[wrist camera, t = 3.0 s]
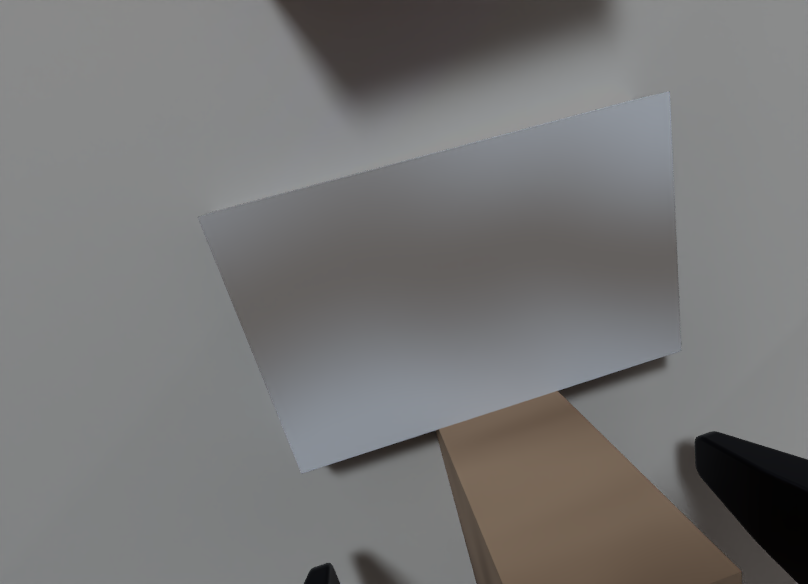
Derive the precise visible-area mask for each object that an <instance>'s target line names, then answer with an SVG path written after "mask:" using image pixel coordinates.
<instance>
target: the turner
mask: <svg viewBox="0 0 808 584" xmlns="http://www.w3.org/2000/svg"><path fill="white" fill-rule="evenodd" d="M198 219H199V222H200V224H201V227H202V229H203V232H204V234H205V237H206V239H207V242H208V244H209V246H210V249H211V251H212V254H213V256H214V259H215V261H216V264H217V266H218V269H219V271H220V274H221V276H222V279H223V281H224V284H225V286H226V288H227V291H228V293H229V296H230V298H231V301H232V303H233V306H234V308H235V311H236V313H237V316H238V318H239V321H240V323H241V326H242V328H243V330H244V333H245V335H246V338H247V340H248V343H249V345H250V348H251V350H252V353H253V355H254V358H255V360H256V363H257V365H258V368H259V370H260V372H261V375H262V377H263V380H264V382H265V385H266V387H267V390H268V392H269V395H270V397H271V400H272V402H273V405H274V407H275V410H276V412H277V414H278V417H279V419H280V422H281V424H282V427H283V429H284V432H285V434H286V437H287V439H288V442H289V444H290V447H291V449H292V452H293V454H294V456H295V459H296V461H297V464H298V466H299V469H300V471H301V474H302V473H305V472H308V471H311V470H314V469H317V468H320V467H324V466H327V465H330V464H333V463H336V462H339V461H342V460H345V459H348V458H351V457H354V456H358V455H361V454H364V453H367V452H370V451H373V450H376V449H379V448H382V447H385V446H388V445H392V444H395V443H398V442H401V441H404V440H407V439H410V438H413V437H416V436H419V435H422V434H426V433H429V432H432V431H435V430H436V434H437V438H438V441H439V445H440V449H441V453H442V456H443V460H444V464H445V467H446V471H447V475H448V479H449V482H450V486H451V490H452V494H453V497H454V501H455V505H456V508H457V512H458V516H459V520H460V523H461V527H462V531H463V534H464V538H465V542H466V546H467V549H468V553H469V557H470V561H471V564H472V568H473V572H474V575H475V579H476V583H477V584H742V571H741V570H740V569H739V568H738V567H737V566H736V565H735V564H734V563H733V562H732V561H731V560H729V559H728V558H727V557H726V556H725V555H724V554H723V553H722V552H721V551H720V550H719V549H718V548H717V547H716V546H715V545H714V544H713V543H712V542H711V541H710V540H709V539H708V538H707V537H706V536H705V535H704V534H703V533H702V532H701V531H700V530H699V529H698V528H697V527H696V526H695V525H694V524H693V523H692V522H691V521H690V520H689V519H688V518H687V517H686V516H685V515H684V514H683V513H682V512H681V511H680V510H678V509H677V508H676V507H675V506H674V505H673V504H672V503H671V502H670V501H669V500H668V499H667V498H666V497H665V496H664V495H663V494H662V493H661V492H660V491H659V490H658V489H657V488H656V487H655V486H654V485H653V484H652V483H651V482H650V481H649V480H648V479H647V478H646V477H645V476H644V475H643V474H642V473H641V472H640V471H639V470H638V469H637V468H636V467H635V466H634V465H633V464H632V463H631V462H630V461H629V460H628V459H626V458H625V457H624V456H623V455H622V454H621V453H620V452H619V451H618V450H617V449H616V448H615V447H614V446H613V445H612V444H611V443H610V442H609V441H608V440H607V439H606V438H605V437H604V436H603V435H602V434H601V433H600V432H599V431H598V430H597V429H596V428H595V427H594V426H593V425H592V424H591V423H590V422H589V421H588V420H587V419H586V418H585V417H584V416H583V415H582V414H581V413H580V412H579V411H578V410H577V409H576V408H574V407H573V406H572V405H571V404H570V403H569V402H568V401H567V400H566V399H565V398H564V397H563V396H562V395H561V394H560V393H559V392H558V390H562V389H565V388H568V387H571V386H574V385H577V384H580V383H583V382H586V381H589V380H592V379H596V378H599V377H602V376H605V375H608V374H611V373H614V372H617V371H620V370H623V369H626V368H630V367H633V366H636V365H639V364H642V363H645V362H648V361H651V360H654V359H657V358H660V357H664V356H667V355H670V354H673V353H676V352H679V351H681V331H680V309H679V286H678V264H677V242H676V219H675V197H674V175H673V152H672V130H671V108H670V91H669V92H665V93H660V94H656V95H652V96H647V97H643V98H639V99H634V100H630V101H626V102H623V103H619V104H615V105H611V106H608V107H604V108H600V109H596V110H593V111H589V112H585V113H581V114H578V115H574V116H570V117H566V118H563V119H559V120H555V121H551V122H548V123H544V124H540V125H536V126H533V127H529V128H525V129H521V130H518V131H514V132H510V133H506V134H502V135H499V136H495V137H491V138H487V139H484V140H480V141H476V142H472V143H469V144H465V145H461V146H457V147H454V148H450V149H446V150H442V151H439V152H435V153H431V154H427V155H424V156H420V157H416V158H412V159H409V160H405V161H401V162H397V163H394V164H390V165H386V166H382V167H379V168H375V169H371V170H367V171H364V172H360V173H356V174H352V175H349V176H345V177H341V178H337V179H334V180H330V181H326V182H322V183H318V184H315V185H311V186H307V187H303V188H300V189H296V190H292V191H288V192H285V193H281V194H277V195H273V196H270V197H266V198H262V199H258V200H255V201H251V202H247V203H243V204H240V205H236V206H232V207H228V208H225V209H221V210H217V211H214V212H211V213H208V214H205V215H202V216H199V217H198Z"/></svg>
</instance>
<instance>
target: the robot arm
mask: <svg viewBox="0 0 808 584" xmlns="http://www.w3.org/2000/svg"><path fill="white" fill-rule="evenodd" d="M695 464H696V469H697V471H698V473H699V475H700V477H701V478H702V479H703V480H704V482H705V483H706V484H707V485H708V486H709V487H710V489H711V490H712V491H713V492H714V493H715V494H716V496H717V497H718V498H719V499H720V500H721V501H722V502H723V504H724V505H725V506H726V507H727V508H728V509H729V511H730V512H731V513H732V514H733V515H734V516H735V518H736V519H737V520H738V521H739V522H740V523H741V525H742V526H743V527H744V528H745V529H746V530H747V532H748V533H749V534H750V535H751V536H752V537H753V538H754V539H755V541H756V542H757V543H758V544H759V545H760V546H761V547H762V548H763V549H764V550H765V551H766V552H767V553H768V554H769V555H770V556H771V557H772V558H773V559H774V560H775V561H776V562H777V563H778V564H779V565H780V566H781V567H782V568H783V569H784V570H785V571H786V572H787V573H788V574H789V575H790V576H791V577H792V578H793V579H794V580H795V581H796V582H797V583H798V584H808V460H807V459H804V458H801V457H798V456H794V455H791V454H788V453H785V452H781V451H778V450H775V449H772V448H768V447H765V446H762V445H759V444H755V443H752V442H749V441H746V440H742V439H739V438H736V437H733V436H729V435H726V434H723V433H720V432H715V431H714V432H709V433H706V434H703V435H700V436H698V437H696V439H695ZM304 584H340V582H339V580H338V577H337V575H336V572H335V570H334V568H333V566H332V565H331V563H326V564H323V565H320V566H317V567H314V568H312V569H311V570H310V572H309V573H308V576H307V578H306V580H305V582H304Z"/></svg>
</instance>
